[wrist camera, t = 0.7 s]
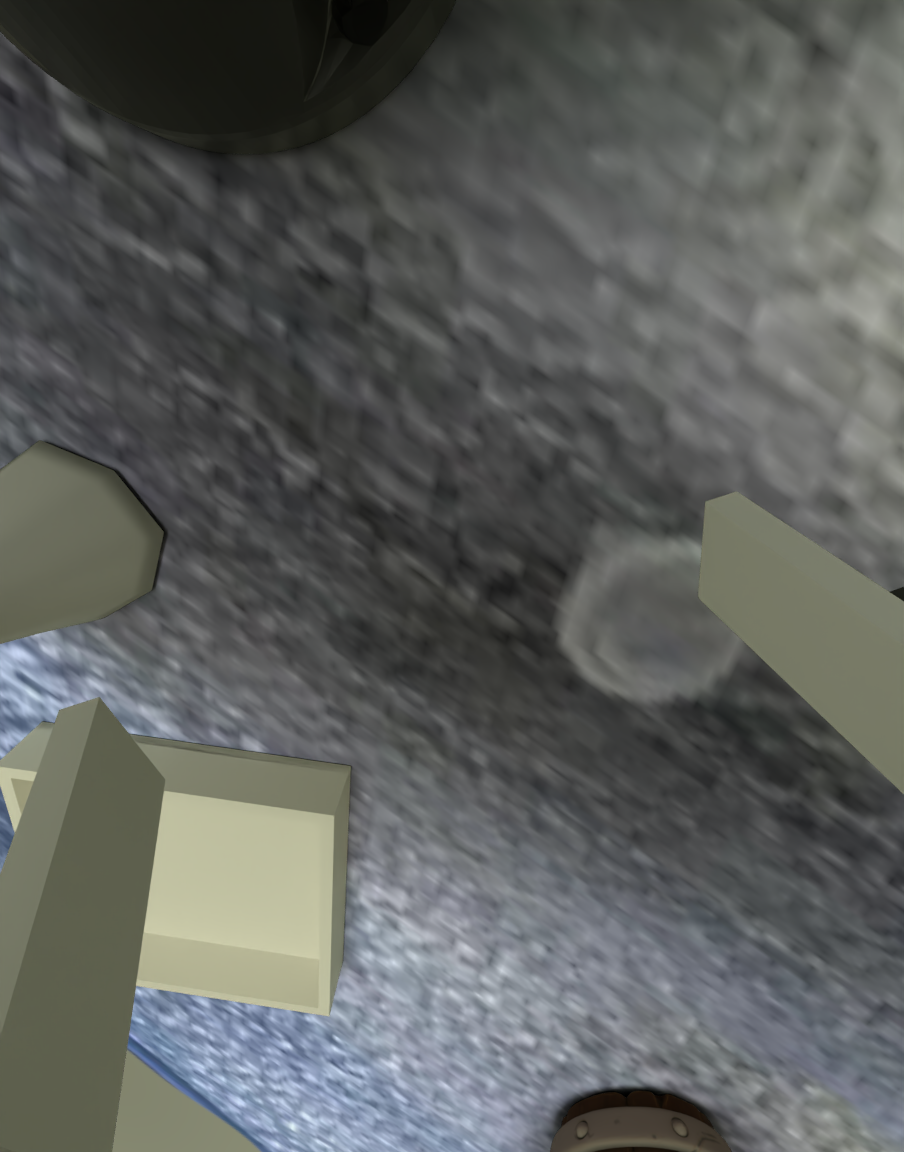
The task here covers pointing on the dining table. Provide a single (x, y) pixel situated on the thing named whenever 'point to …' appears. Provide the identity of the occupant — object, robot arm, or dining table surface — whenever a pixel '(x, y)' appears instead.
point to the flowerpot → (636, 1126)
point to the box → (235, 871)
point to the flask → (69, 543)
